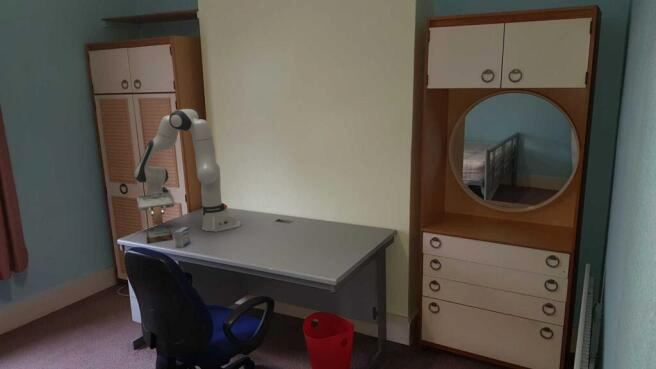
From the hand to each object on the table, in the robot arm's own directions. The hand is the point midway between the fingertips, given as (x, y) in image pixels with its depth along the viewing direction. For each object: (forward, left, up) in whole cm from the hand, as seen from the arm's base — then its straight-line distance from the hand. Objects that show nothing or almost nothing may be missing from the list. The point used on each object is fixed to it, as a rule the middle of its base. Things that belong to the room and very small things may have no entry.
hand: (157, 214), depth 270 cm
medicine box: (-10, +31, -11) cm, 34 cm away
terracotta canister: (0, -1, -6) cm, 6 cm away
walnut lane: (+1, +12, -10) cm, 16 cm away
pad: (0, -1, -10) cm, 10 cm away
